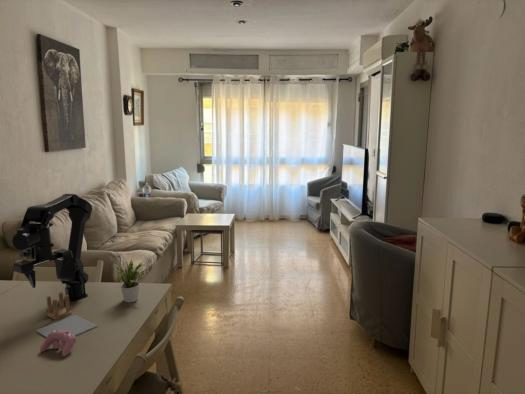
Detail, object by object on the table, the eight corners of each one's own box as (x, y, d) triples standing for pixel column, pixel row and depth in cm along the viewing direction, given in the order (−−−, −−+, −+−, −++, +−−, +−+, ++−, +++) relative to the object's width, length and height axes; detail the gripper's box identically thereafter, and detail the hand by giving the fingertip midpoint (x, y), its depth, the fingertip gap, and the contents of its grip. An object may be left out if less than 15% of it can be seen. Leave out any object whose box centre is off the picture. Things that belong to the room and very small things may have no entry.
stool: (63, 309, 150) (61, 291, 149) (71, 314, 147) (70, 295, 145) (47, 315, 145) (45, 297, 144) (55, 320, 142) (53, 301, 141)
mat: (75, 315, 145) (75, 314, 145) (97, 326, 137) (97, 325, 136) (35, 331, 134) (35, 330, 134) (56, 344, 125) (56, 343, 125)
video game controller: (74, 356, 121) (80, 332, 123) (63, 357, 117) (69, 332, 119) (49, 350, 125) (55, 327, 127) (37, 351, 120) (44, 327, 122)
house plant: (156, 302, 156) (154, 262, 153) (120, 311, 148) (117, 269, 145) (144, 290, 167) (142, 253, 165) (110, 298, 160) (108, 259, 157)
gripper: (52, 232, 152) (57, 270, 155) (1, 245, 136) (7, 288, 139) (71, 236, 146) (75, 276, 149) (19, 250, 130) (25, 294, 133)
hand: (46, 283), depth 143 cm, fingers open, 9 cm apart
